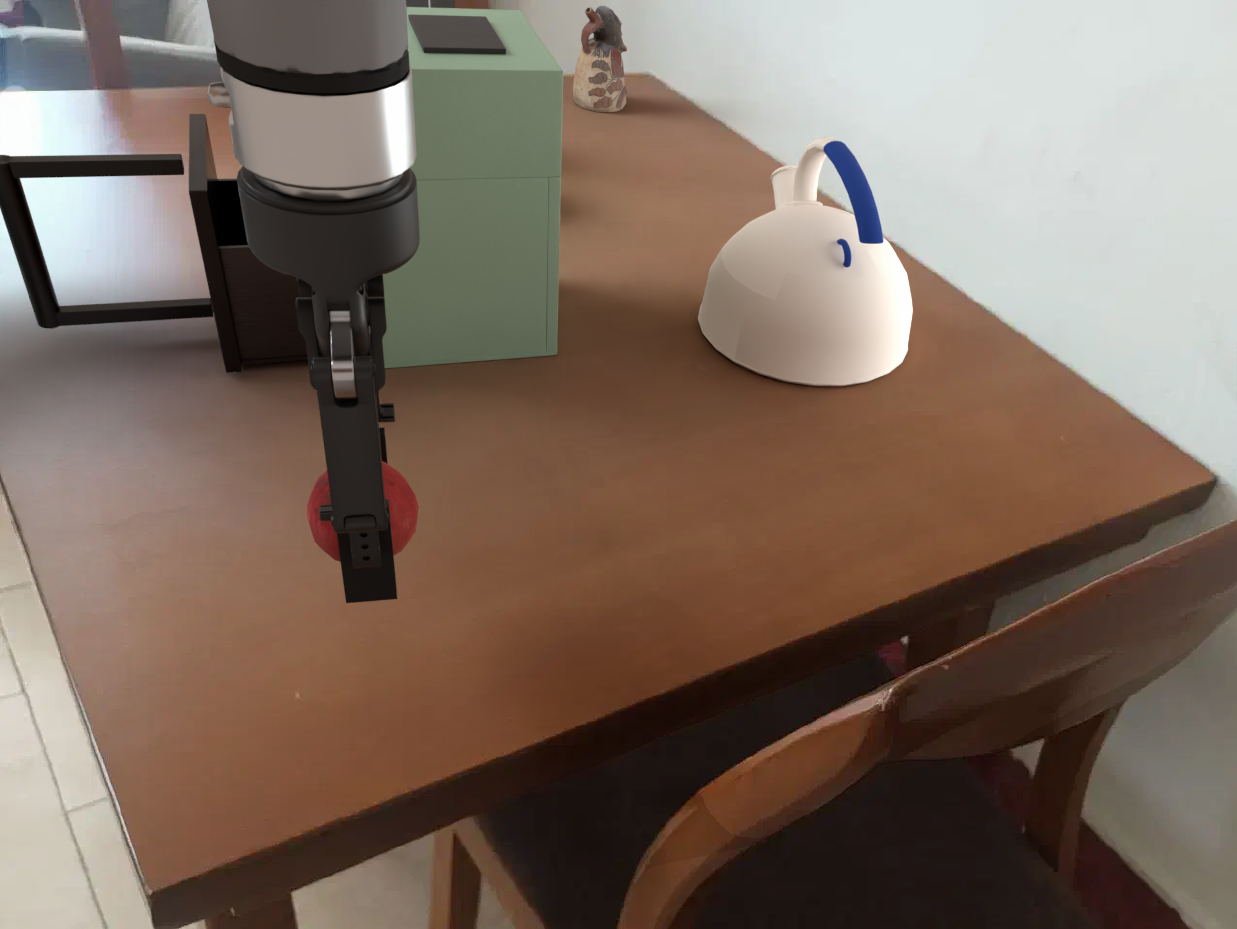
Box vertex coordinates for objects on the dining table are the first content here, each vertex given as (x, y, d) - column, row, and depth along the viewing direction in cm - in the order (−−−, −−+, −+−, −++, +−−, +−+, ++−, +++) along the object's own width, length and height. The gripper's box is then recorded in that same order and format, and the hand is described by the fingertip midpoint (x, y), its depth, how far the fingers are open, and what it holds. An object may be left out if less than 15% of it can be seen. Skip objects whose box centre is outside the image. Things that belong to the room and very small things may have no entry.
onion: (359, 611, 60) (346, 498, 54) (293, 561, 62) (275, 447, 57) (441, 562, 63) (436, 452, 58) (376, 516, 66) (366, 406, 61)
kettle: (856, 276, 114) (894, 100, 102) (944, 381, 99) (999, 191, 88) (671, 283, 108) (689, 97, 96) (736, 396, 93) (766, 193, 81)
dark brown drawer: (32, 388, 81) (-33, 196, 71) (50, 292, 91) (-5, 113, 82) (420, 358, 90) (408, 185, 81) (397, 275, 101) (384, 112, 91)
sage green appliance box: (366, 370, 89) (333, 62, 74) (348, 284, 100) (315, -2, 84) (557, 355, 95) (563, 64, 79) (521, 275, 105) (520, 4, 89)
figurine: (635, 110, 144) (642, 13, 136) (587, 114, 141) (591, 15, 133) (611, 91, 148) (615, -3, 141) (563, 95, 145) (566, -2, 137)
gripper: (247, 85, 53) (304, 462, 68) (217, 266, 40) (296, 686, 55) (406, 92, 55) (427, 456, 70) (428, 266, 42) (449, 670, 57)
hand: (370, 556), depth 62 cm, fingers closed on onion, 6 cm apart
